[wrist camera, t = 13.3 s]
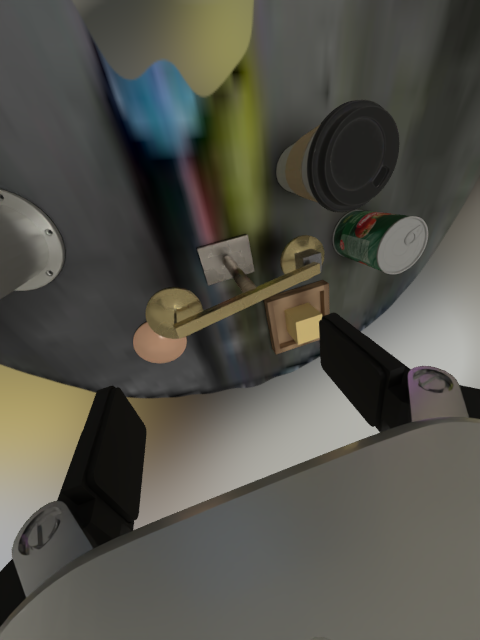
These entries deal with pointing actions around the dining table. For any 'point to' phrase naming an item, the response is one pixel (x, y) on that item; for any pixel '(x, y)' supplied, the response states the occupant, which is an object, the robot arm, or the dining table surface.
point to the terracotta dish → (157, 345)
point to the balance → (222, 264)
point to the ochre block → (303, 323)
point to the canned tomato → (381, 239)
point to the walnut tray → (278, 303)
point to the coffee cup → (343, 157)
